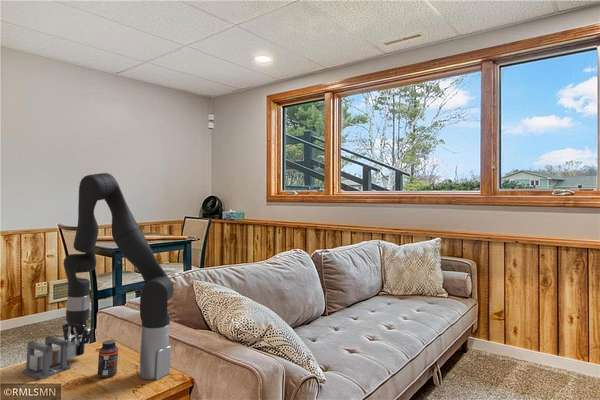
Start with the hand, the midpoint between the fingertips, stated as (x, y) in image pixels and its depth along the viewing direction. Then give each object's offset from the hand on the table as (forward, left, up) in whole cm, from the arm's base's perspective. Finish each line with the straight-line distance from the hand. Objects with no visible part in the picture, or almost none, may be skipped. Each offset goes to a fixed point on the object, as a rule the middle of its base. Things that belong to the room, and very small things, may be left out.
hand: (75, 353), depth 141 cm
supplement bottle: (-20, +3, -3) cm, 20 cm away
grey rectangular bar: (0, +7, 0) cm, 7 cm away
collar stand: (0, +11, -2) cm, 11 cm away
